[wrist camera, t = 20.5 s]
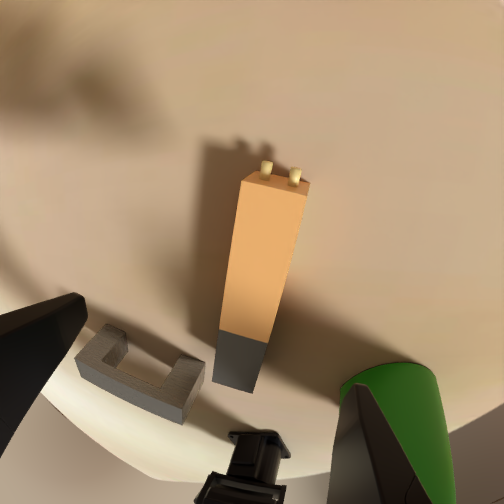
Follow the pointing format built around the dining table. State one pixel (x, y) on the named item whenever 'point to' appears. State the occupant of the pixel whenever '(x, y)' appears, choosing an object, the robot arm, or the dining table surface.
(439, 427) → the green tall cylinder
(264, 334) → the plug
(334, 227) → the dining table surface
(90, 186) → the dining table surface
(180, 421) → the housing
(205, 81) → the dining table surface
